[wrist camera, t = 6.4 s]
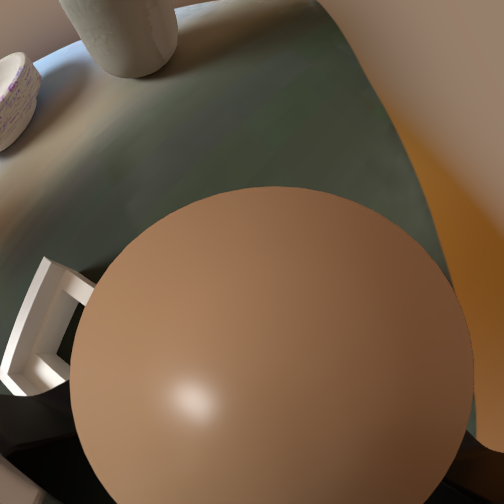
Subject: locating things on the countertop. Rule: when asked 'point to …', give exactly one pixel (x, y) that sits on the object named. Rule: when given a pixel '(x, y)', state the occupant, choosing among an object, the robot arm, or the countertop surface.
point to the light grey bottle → (125, 33)
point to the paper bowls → (16, 96)
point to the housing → (43, 330)
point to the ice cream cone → (272, 358)
